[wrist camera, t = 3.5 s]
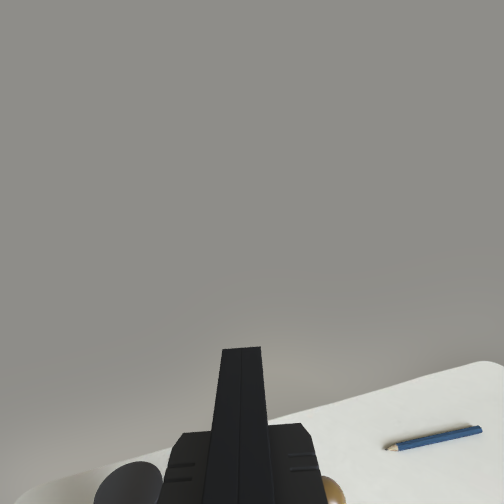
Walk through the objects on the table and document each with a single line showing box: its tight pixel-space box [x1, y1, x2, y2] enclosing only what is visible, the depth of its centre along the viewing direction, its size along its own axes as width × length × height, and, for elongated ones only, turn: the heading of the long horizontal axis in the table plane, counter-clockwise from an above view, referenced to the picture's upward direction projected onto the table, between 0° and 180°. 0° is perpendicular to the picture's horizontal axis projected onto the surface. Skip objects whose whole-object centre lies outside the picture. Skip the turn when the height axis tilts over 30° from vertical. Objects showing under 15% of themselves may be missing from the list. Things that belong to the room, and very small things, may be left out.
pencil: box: [385, 426, 482, 451], centre depth 43 cm, size 1×1×15 cm
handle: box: [94, 461, 346, 504], centre depth 24 cm, size 18×5×3 cm, turn 89°
